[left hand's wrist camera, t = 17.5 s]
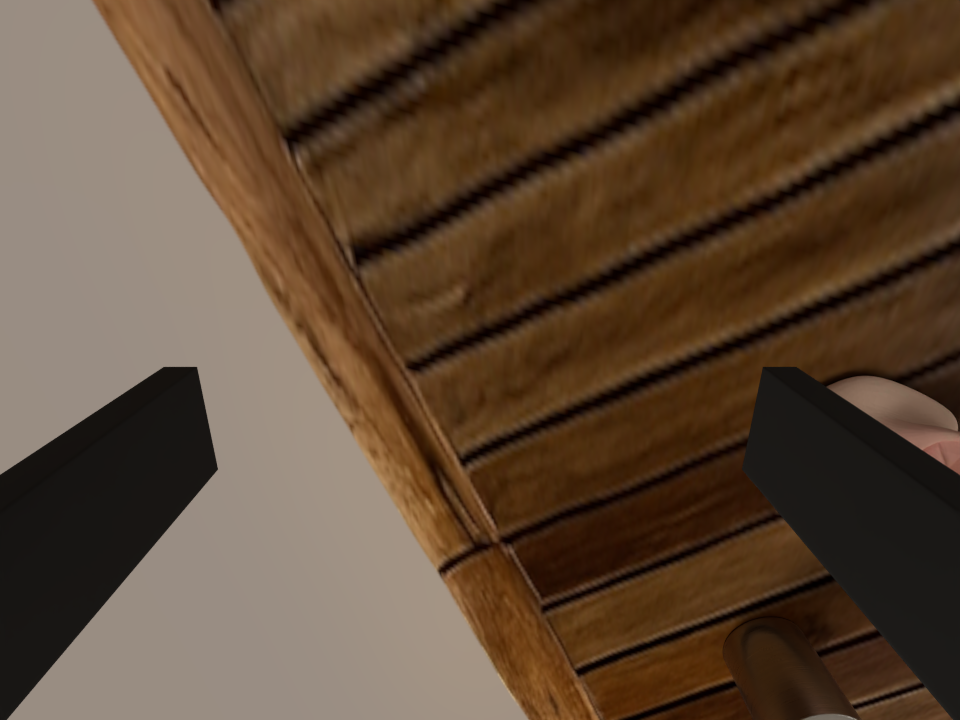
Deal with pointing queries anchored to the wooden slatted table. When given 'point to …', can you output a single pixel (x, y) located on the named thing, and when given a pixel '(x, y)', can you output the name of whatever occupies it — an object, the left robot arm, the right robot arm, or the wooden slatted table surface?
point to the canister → (783, 673)
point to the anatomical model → (906, 415)
